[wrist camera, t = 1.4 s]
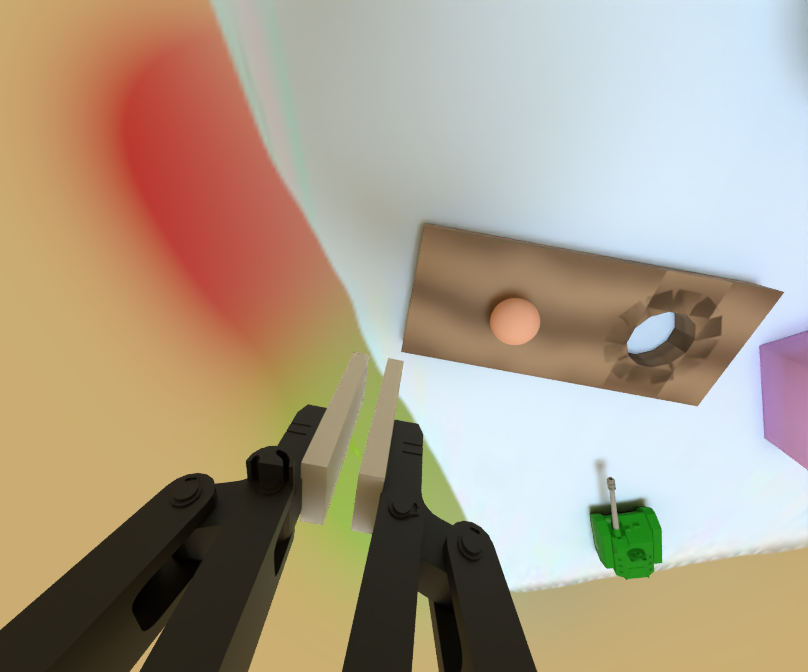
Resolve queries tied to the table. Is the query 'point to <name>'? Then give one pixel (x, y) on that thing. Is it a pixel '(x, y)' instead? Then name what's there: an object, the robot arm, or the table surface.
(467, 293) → the walnut board
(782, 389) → the teapot
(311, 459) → the robot arm
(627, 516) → the toy tank
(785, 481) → the table surface
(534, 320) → the coral ball
